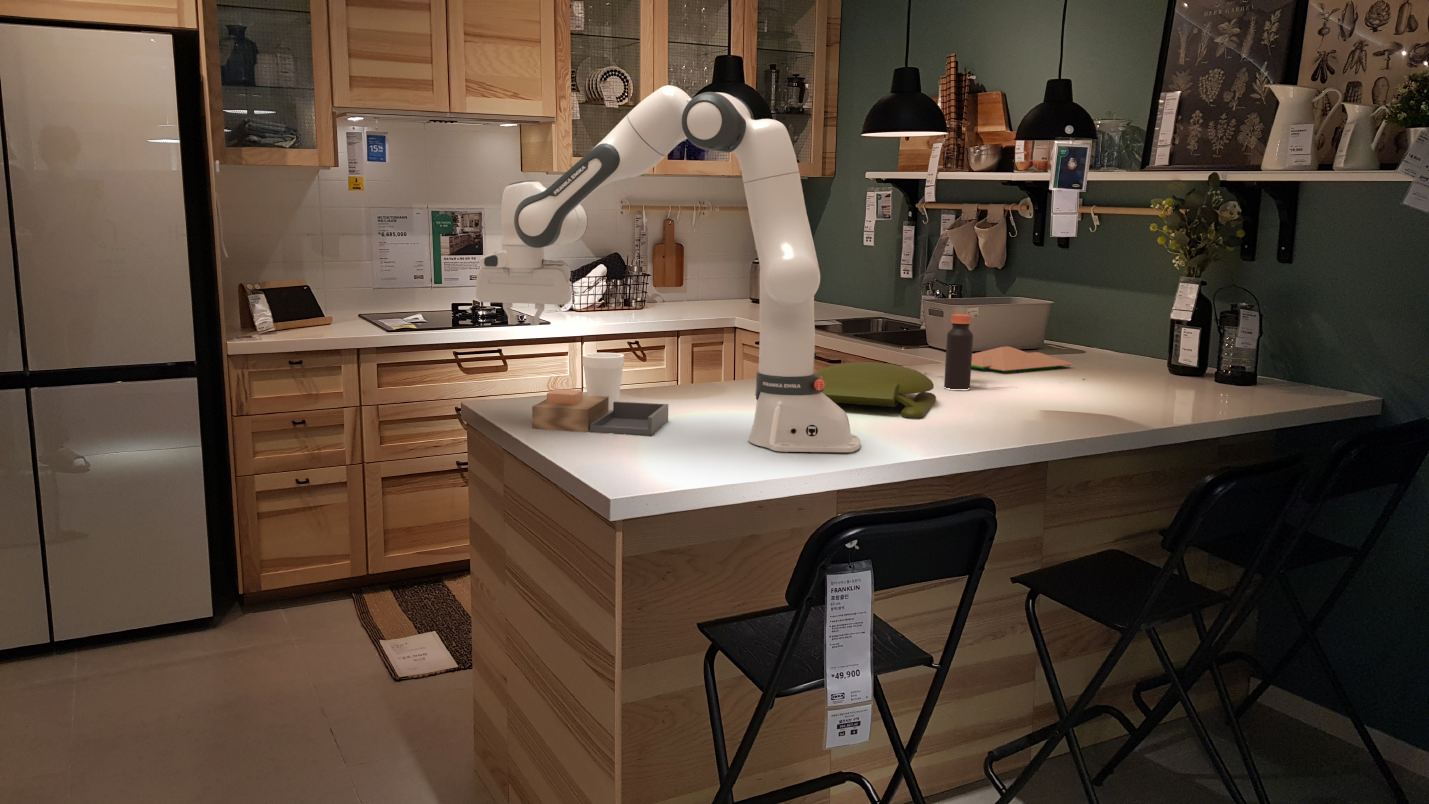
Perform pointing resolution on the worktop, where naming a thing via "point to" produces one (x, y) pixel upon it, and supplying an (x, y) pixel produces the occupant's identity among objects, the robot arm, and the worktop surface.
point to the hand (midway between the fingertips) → (523, 324)
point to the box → (632, 419)
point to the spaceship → (878, 386)
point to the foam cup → (603, 375)
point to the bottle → (959, 353)
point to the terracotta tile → (564, 396)
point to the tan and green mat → (1013, 360)
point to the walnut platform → (569, 414)
